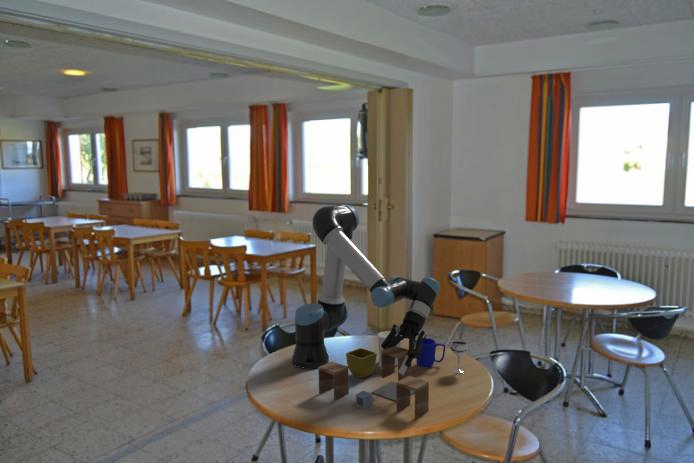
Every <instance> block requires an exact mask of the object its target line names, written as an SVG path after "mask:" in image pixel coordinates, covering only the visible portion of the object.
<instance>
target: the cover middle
mask: <svg viewBox="0 0 694 463" xmlns="http://www.w3.org/2000/svg"><path fill="white" fill-rule="evenodd" d="M408 353H409V348H408V349H407V348H404V347H401V348H400V347H396V346H391V347H389V348H387V349H385V350H382V351H381V368H380V371H381V379H385V378H387V377H389V376H391V375H393V374H395V373H396V366H395V358H398V366H397V376H398V377H397V382H398V381H400V380H401V379H403V378H405V377H407V376H411V377H412V364H411V365H410V366H409V367H407V369H406V371H405V373H404V376H402V375H401V374H400V373H399V372H398V371H399V369H400V367H401V365H402V363H403V361H404V358H405V356H406V355H407V356H409V355H408Z"/></svg>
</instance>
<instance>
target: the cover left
mask: <svg viewBox="0 0 694 463" xmlns="http://www.w3.org/2000/svg"><path fill="white" fill-rule="evenodd" d="M317 369H318V370H317V371H318V394H319V395H323V394H324V393H326V391H327V392H328V391H330V390H333V400H334V401H336V400H339V399H341V398H343V397H345V396H347V395H349V394H350V392H349V391H350V390H349V389H350V388H349V386H350V384H349V368H348V365H344V364H341V363H337V362H335V361H329V362H328V363H327V364H325V365H322V366H320V367H318V368H317Z"/></svg>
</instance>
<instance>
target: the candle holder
mask: <svg viewBox="0 0 694 463" xmlns="http://www.w3.org/2000/svg"><path fill="white" fill-rule="evenodd" d="M390 331H391V330H385V331H380V332H378V334H377V337H378V338H377V340H378V353H379V354H378V356H379V357H378V358H379V362H380V361H381V351H382V350H384V349H383V348H382V347H381V345H382V343H383V342H384V340H385V339H386V337H387V336H388V334H389V333H390ZM397 333H398V332H397ZM396 335H397V334H396ZM401 336H402V335H401ZM402 341H403V340H401V341H400V342H399V343H398V344H397V345H396V347H400V348H402ZM395 367H398V358H395Z"/></svg>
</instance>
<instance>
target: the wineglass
mask: <svg viewBox="0 0 694 463" xmlns="http://www.w3.org/2000/svg"><path fill="white" fill-rule="evenodd" d="M468 343H469V341H468V340H466V339H462V338H454V339H451V340H450V345H449V346H450V347H449V348H450V352H452V353H453V354H455V355H456V356H457V364H458V365H457V367H458V368H455V369H452V371H453V372H452V373H453V374H456V373H463V372H464V371H465V370H464V369H462V368H461V369H460V367H461V366H460V365H461V364H460V363H461V356H463V355H465V354H466V353H467V352H468V349H469V345H468ZM463 370H464V371H463ZM463 374H464V373H463Z"/></svg>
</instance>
